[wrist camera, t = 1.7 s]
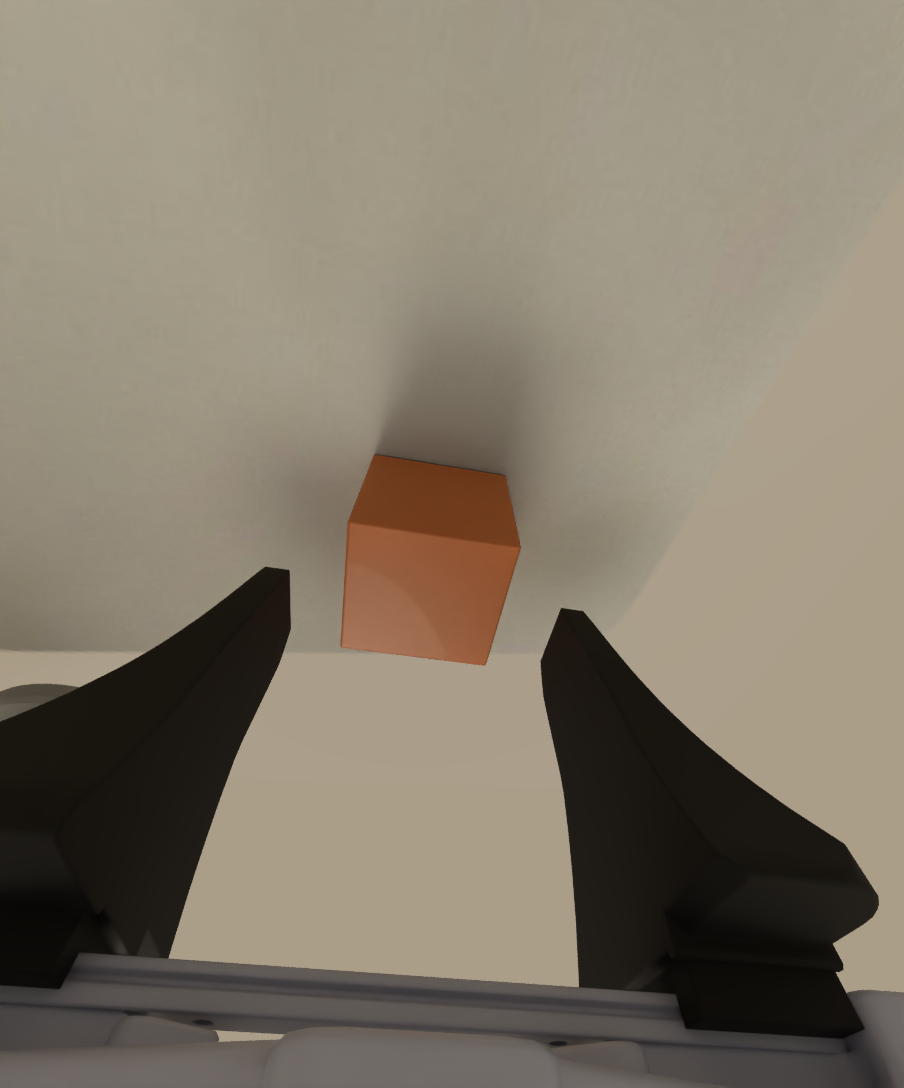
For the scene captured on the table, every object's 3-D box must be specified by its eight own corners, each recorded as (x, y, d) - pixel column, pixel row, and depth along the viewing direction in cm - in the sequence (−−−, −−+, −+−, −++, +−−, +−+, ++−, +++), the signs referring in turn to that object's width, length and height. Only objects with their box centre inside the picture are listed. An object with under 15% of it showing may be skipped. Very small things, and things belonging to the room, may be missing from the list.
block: (479, 579, 18) (485, 666, 14) (364, 563, 18) (339, 648, 14) (506, 475, 16) (521, 547, 12) (373, 453, 16) (347, 520, 12)
